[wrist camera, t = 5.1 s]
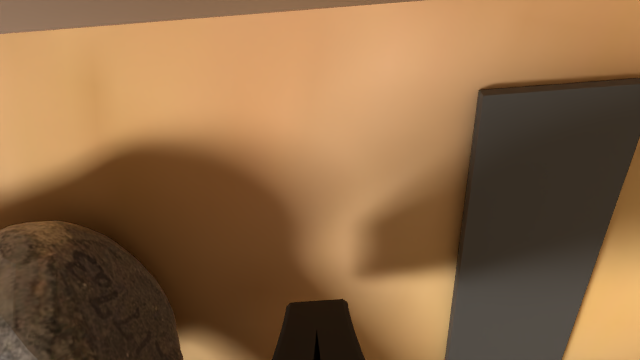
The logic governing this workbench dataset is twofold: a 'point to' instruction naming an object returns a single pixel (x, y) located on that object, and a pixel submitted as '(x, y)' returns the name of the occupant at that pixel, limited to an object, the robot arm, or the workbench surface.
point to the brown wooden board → (142, 11)
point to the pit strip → (537, 213)
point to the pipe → (79, 298)
